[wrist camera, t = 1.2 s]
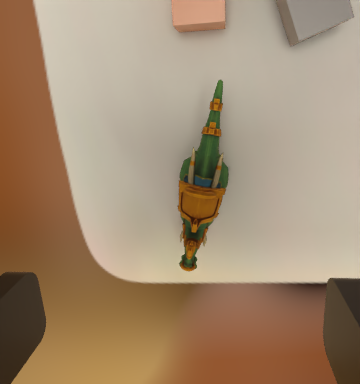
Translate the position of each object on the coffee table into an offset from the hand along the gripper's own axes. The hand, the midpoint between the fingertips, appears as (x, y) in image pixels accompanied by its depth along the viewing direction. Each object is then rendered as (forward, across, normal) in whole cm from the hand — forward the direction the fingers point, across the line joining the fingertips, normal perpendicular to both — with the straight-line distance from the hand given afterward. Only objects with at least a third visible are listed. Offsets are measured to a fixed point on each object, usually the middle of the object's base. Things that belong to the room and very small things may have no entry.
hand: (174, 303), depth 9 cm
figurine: (+17, 0, 0) cm, 17 cm away
